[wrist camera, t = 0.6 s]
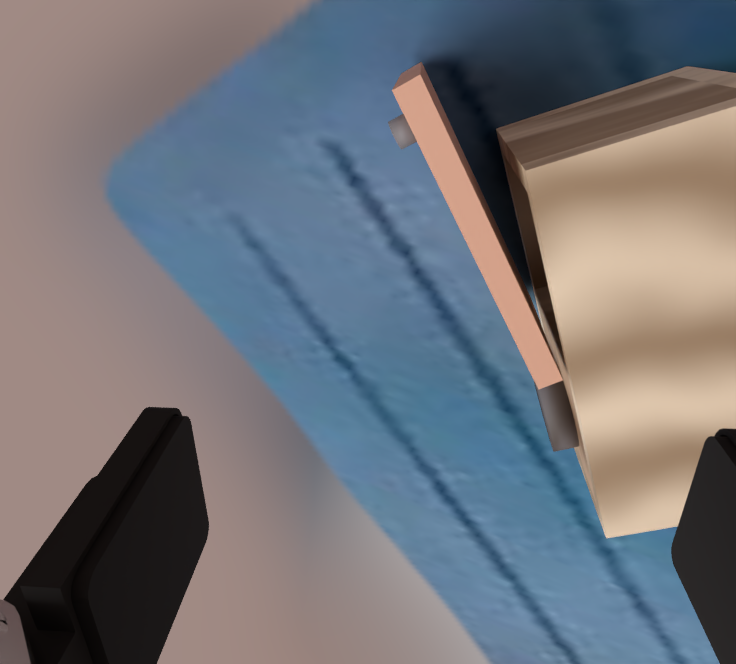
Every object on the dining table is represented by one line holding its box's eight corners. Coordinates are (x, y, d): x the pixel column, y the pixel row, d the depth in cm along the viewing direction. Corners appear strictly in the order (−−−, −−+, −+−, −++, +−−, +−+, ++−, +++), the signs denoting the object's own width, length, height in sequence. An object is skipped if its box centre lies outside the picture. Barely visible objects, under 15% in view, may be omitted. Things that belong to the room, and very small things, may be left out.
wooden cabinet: (718, 383, 39) (817, 502, 29) (542, 421, 41) (579, 542, 32) (687, 66, 31) (809, 83, 21) (471, 136, 33) (490, 181, 23)
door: (530, 296, 37) (563, 380, 28) (493, 312, 37) (514, 398, 29) (421, 61, 31) (420, 74, 22) (381, 85, 32) (364, 106, 23)
